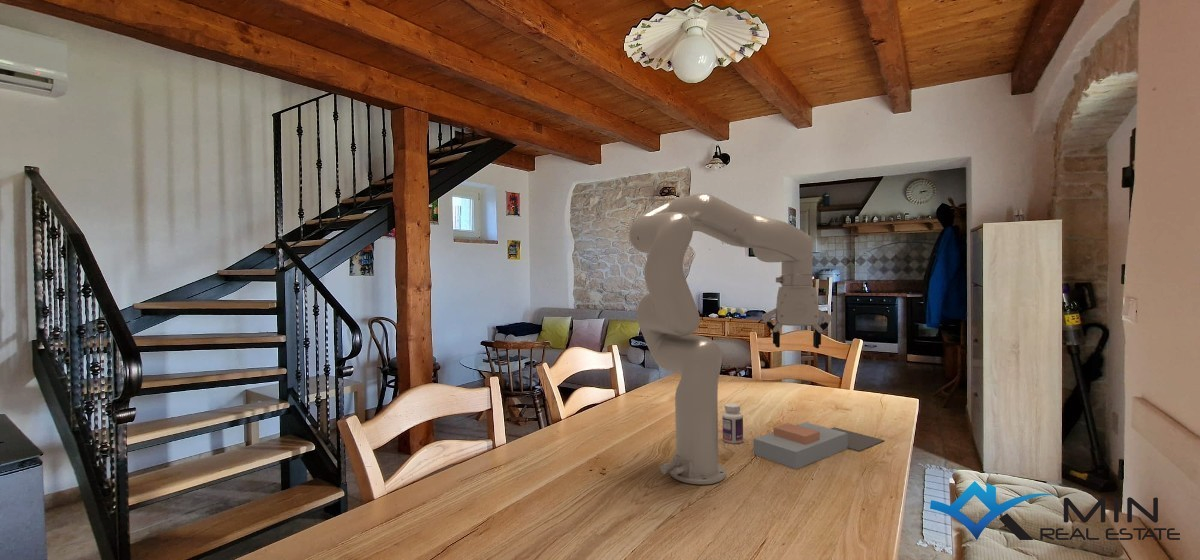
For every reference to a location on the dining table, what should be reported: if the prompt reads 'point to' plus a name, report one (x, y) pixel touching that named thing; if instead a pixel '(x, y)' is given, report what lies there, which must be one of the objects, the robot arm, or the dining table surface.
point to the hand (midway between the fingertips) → (796, 347)
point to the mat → (859, 440)
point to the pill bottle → (732, 424)
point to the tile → (796, 433)
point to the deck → (800, 447)
